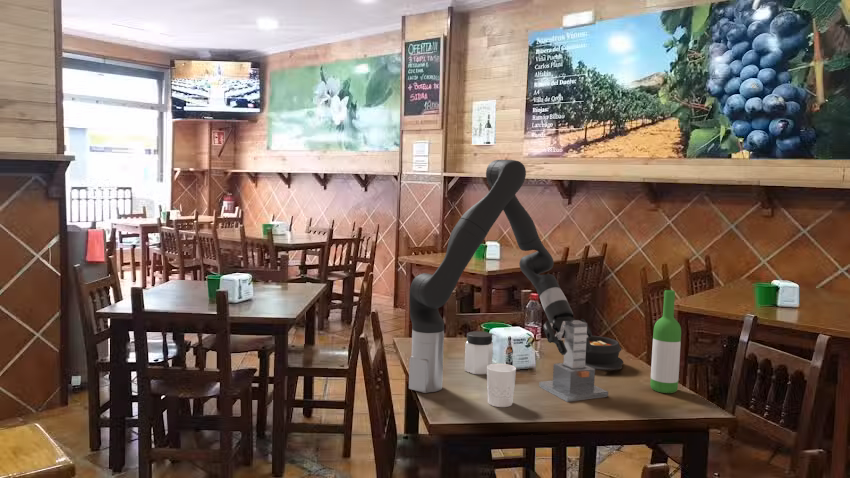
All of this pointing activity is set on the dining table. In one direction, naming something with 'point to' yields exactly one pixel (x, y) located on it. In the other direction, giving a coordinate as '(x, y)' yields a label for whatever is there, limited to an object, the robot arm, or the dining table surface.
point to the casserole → (603, 354)
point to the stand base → (573, 384)
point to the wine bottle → (666, 349)
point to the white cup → (500, 384)
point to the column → (575, 344)
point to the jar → (478, 352)
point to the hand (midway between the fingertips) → (577, 352)
